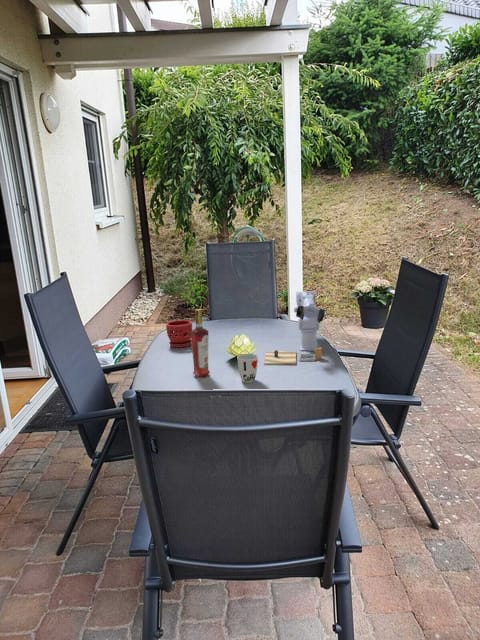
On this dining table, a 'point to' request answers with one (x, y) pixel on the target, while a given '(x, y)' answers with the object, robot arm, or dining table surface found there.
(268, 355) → the board
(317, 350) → the square frame with cube
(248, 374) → the cup
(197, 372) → the liquor
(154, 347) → the dining table surface
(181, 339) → the plant pot
